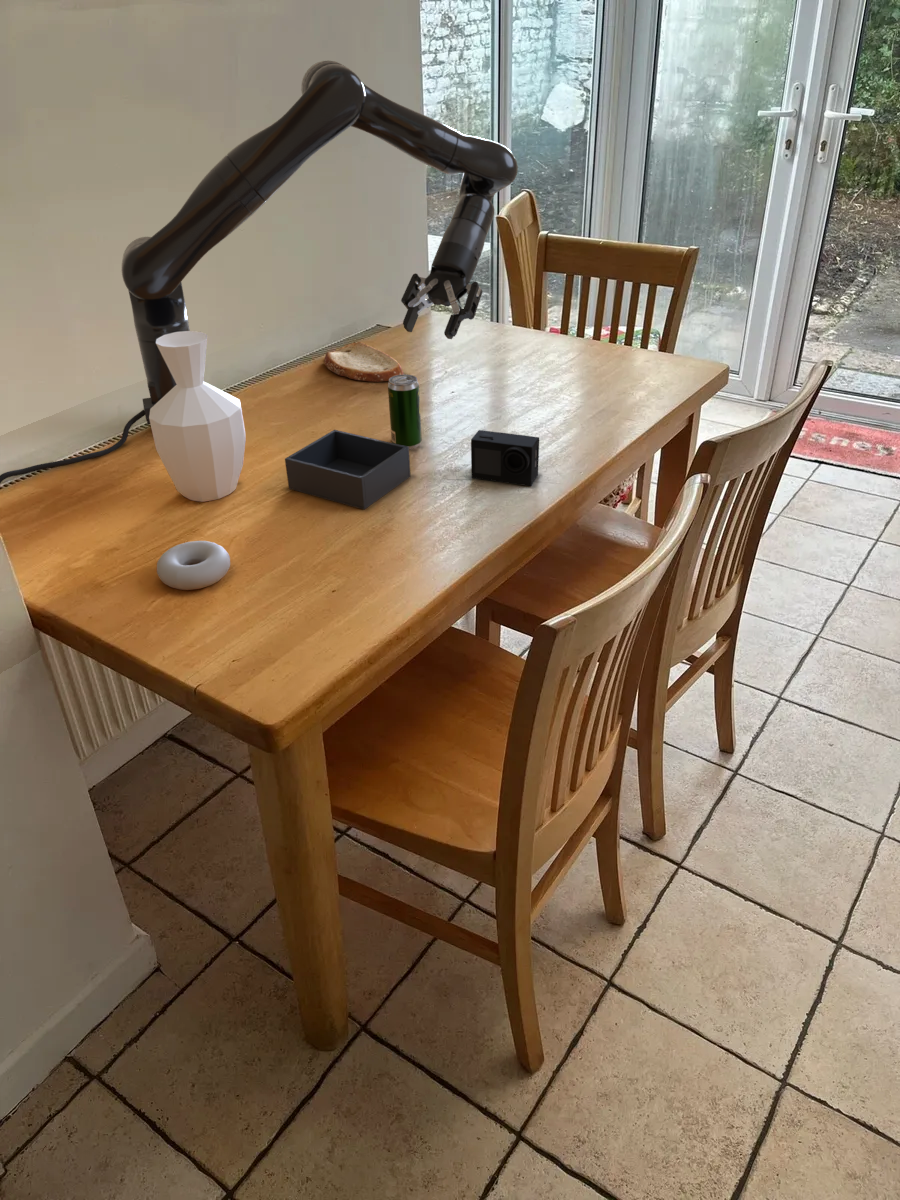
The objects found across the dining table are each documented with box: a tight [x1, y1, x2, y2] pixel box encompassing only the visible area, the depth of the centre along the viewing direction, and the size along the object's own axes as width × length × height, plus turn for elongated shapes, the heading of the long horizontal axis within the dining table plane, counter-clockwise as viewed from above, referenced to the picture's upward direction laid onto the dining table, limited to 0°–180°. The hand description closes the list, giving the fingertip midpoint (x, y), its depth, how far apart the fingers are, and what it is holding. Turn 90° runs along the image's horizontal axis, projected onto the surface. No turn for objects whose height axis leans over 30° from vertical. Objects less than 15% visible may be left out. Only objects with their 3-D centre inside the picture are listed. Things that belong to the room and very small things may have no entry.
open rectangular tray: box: [284, 429, 411, 510], centre depth 146 cm, size 13×15×5 cm
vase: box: [149, 330, 247, 503], centre depth 140 cm, size 14×14×25 cm
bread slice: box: [323, 341, 405, 383], centre depth 192 cm, size 18×18×4 cm
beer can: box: [387, 373, 423, 451], centre depth 156 cm, size 5×5×12 cm
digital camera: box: [470, 429, 540, 487], centre depth 145 cm, size 10×5×7 cm, turn 70°
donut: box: [156, 540, 231, 591], centre depth 124 cm, size 10×4×10 cm
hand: (427, 333), depth 159 cm, fingers open, 8 cm apart
